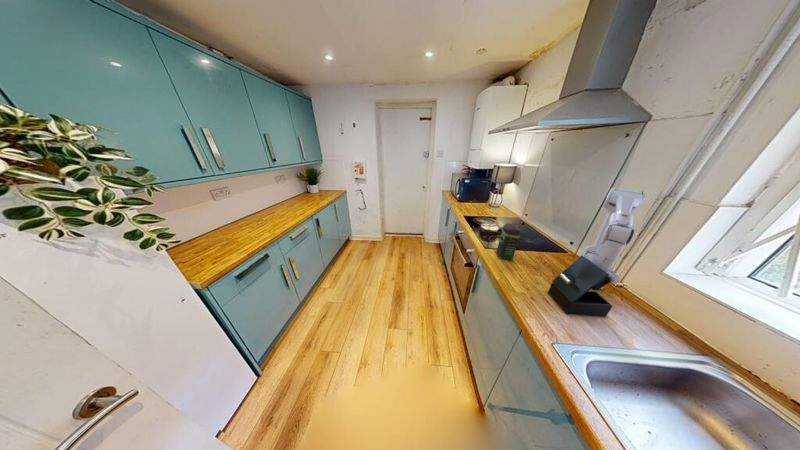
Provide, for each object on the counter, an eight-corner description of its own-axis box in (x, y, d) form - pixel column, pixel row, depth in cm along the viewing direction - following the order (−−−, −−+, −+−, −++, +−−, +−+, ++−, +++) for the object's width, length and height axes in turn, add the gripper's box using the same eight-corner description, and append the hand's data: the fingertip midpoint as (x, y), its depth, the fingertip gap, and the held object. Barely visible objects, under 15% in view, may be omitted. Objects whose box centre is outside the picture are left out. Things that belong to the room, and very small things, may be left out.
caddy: (582, 294, 85) (587, 284, 82) (605, 316, 74) (612, 305, 72) (547, 292, 85) (552, 282, 83) (566, 314, 75) (572, 303, 72)
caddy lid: (583, 255, 77) (574, 250, 76) (609, 274, 66) (599, 268, 66) (553, 281, 83) (544, 277, 82) (573, 302, 72) (563, 297, 72)
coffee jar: (514, 261, 106) (524, 230, 99) (499, 259, 108) (507, 228, 100) (509, 251, 115) (517, 222, 107) (494, 250, 116) (502, 221, 108)
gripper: (579, 245, 79) (566, 272, 85) (612, 267, 66) (594, 298, 71) (597, 246, 79) (583, 273, 84) (634, 268, 65) (614, 299, 71)
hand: (589, 285), depth 78 cm, fingers closed on scrap block, 4 cm apart
